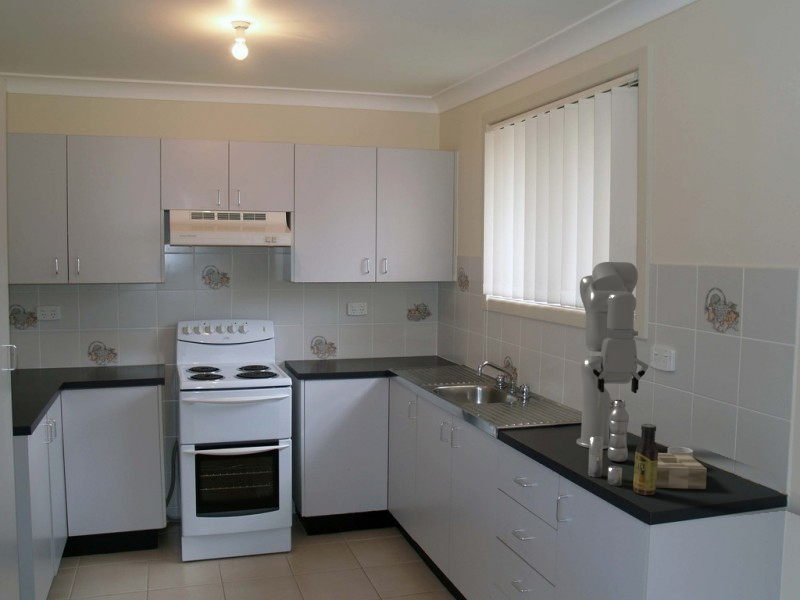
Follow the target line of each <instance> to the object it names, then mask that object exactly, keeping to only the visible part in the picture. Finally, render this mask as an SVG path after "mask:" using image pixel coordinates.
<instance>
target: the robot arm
mask: <svg viewBox="0 0 800 600" xmlns="http://www.w3.org/2000/svg"><path fill="white" fill-rule="evenodd" d="M638 278H639V272H638V269H637V267H636V265H634V264H633V262H632V263H631V262H627V261H625V262H624V261H623V262H622V261H603V262H599V263H597V264H596V265H595V266H594V267H593V270H592V275H586V276H583V277H582V278H581V279H580V281H579V296H580V298H581V303H582V305H583V307H584V312H585V347H586V349H587V350H588V351H590V352H594V353H595V352H596V353H600V355H590V356H587V357H585V358H583V360H582V361H581V365H580V367H581V368H580V370H581V380H582V403H581V404H582V407H581V428H580V429H581V433H580V437H579V438H577V439H576V444H577V445H578V446H580V447H583V448H587V449H589V441H590V436H601V437H603V450H606V449H607V450H608V447H609V441H610V421H609V415H610V413H611V394H610V392H609V391H608V390H607V388H606V387H605V385H607V384H610V385H611V384H612V385H614V384H615V385H626V384H629V383H631V390H630V391H631V392H632V393H634V394H637V392H638V390H639V382H640V380H641V378H642V377H643V376H644V375H645V374H646V372H647V370H648V368H649V364H647V363H645V361H644V362H643V361H642V360H640V359H638V354H637V343H636V340H635V339H634V338H635V337H638V336H639V331H638V330H637V331H636V330H635V329H634V322H635V321H634V320H635V311H636V308H637V299H636V297H635V295H634V294H633V292H634V290H635V288H636V286H637V283H638V280H639V279H638ZM638 365H639V366H641V369H640V370H639V371H637V370H638Z"/></svg>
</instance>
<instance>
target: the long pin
mask: <svg viewBox="0 0 800 600" xmlns="http://www.w3.org/2000/svg"><path fill="white" fill-rule="evenodd" d="M603 450H604V449H603V437H601V436H590V441H589V448H588V466H587V467H588V472H587V476H588V475H589V476H588V477H590V476H592V477H591V478H594V477H600V478H601V476H602V475H603V474H602V473H603V472H602V471H603V453H604V451H603Z"/></svg>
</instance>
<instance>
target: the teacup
mask: <svg viewBox="0 0 800 600" xmlns="http://www.w3.org/2000/svg"><path fill="white" fill-rule="evenodd" d="M667 453H677V454H689V455H690V456H691V457H693V458H694V450H693V449H691V448H689V447H684V446H669V447H668V448H667Z"/></svg>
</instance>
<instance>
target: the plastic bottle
mask: <svg viewBox="0 0 800 600" xmlns="http://www.w3.org/2000/svg"><path fill="white" fill-rule="evenodd" d="M625 408H626V400H623V399H613V409H612V410H610V415H609V421H610V423H609V440H610V441H609V447H608V448H607V457H608V459H609V460H610V461H613V462H618V463H619V462H625V461H626V460H627V459H628V455H629V454H628V447H627V445H628V444H627V443H628V441H627V435H628V434H627V433H628V426H629V423H630V422H629V421H630V416H629V413H628V411H627V409H625Z"/></svg>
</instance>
